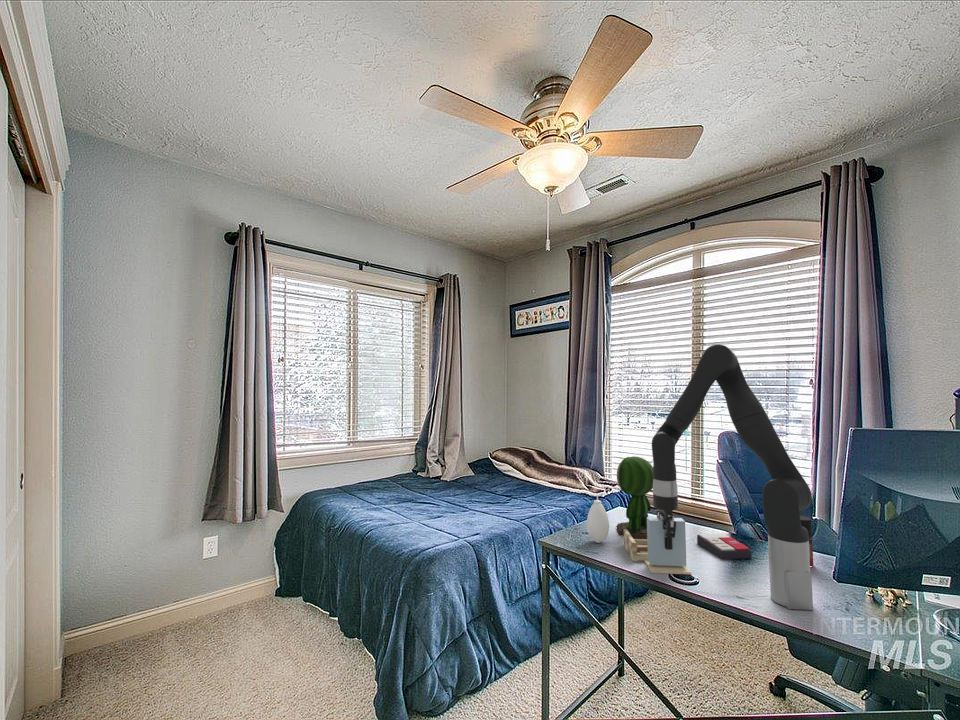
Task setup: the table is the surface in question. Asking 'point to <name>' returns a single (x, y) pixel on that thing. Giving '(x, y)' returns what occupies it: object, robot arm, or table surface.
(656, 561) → the grey rectangular block
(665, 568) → the cork mat
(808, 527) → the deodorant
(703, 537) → the dark flat box
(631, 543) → the rack
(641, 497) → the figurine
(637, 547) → the offcut slab upper
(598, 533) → the white rounded upright piece
